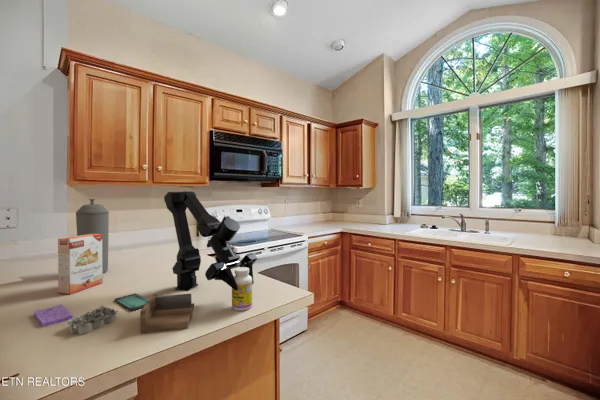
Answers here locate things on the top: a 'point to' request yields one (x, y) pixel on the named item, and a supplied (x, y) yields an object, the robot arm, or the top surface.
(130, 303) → the smartphone
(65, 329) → the top surface
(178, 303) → the gray flat bar
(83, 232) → the canister
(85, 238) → the cracker box
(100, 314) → the egg carton
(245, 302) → the supplement bottle
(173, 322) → the brown piece
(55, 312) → the sponges
